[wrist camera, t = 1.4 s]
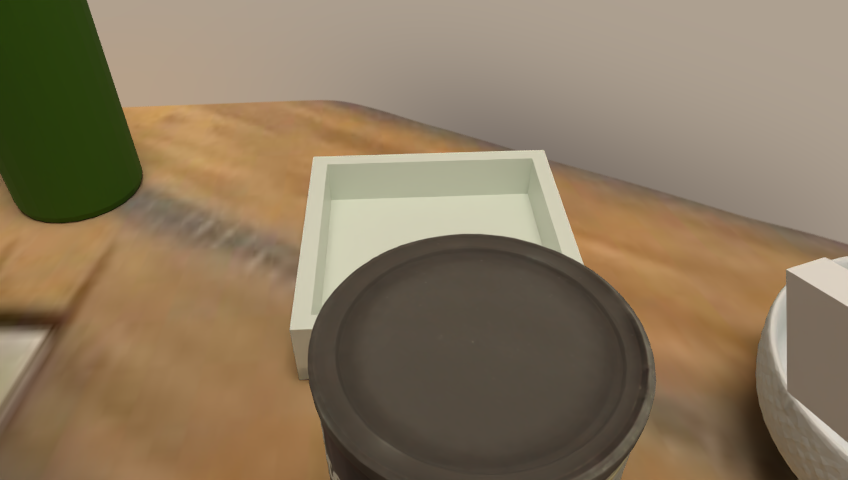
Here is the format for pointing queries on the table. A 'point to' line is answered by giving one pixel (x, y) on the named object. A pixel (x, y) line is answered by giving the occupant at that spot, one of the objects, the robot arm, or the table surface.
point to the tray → (416, 214)
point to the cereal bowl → (794, 407)
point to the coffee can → (478, 366)
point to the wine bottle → (61, 114)
